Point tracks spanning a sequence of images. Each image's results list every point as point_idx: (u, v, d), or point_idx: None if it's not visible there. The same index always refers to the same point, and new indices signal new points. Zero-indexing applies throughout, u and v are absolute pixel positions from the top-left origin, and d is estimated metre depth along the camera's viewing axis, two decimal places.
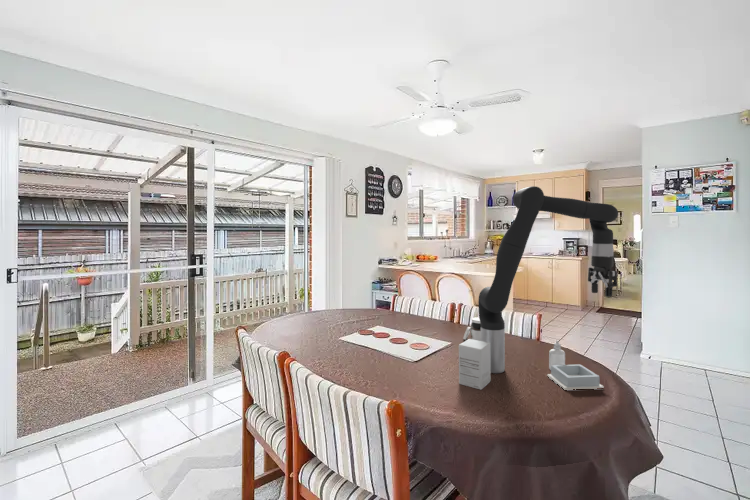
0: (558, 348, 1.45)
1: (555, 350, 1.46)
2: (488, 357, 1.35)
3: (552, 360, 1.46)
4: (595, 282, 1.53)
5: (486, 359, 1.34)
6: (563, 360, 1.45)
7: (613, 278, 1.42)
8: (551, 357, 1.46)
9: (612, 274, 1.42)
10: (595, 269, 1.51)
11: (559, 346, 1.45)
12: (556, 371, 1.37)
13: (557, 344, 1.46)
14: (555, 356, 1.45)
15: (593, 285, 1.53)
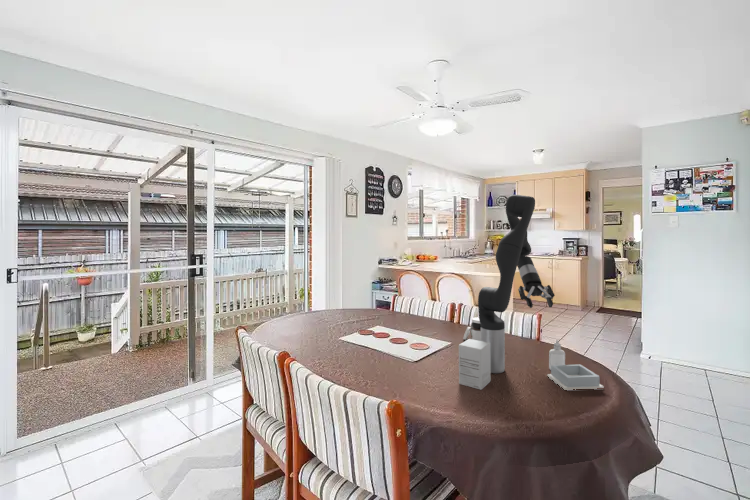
0: (558, 348, 1.45)
1: (555, 350, 1.46)
2: (488, 357, 1.35)
3: (552, 360, 1.46)
4: None
5: (486, 359, 1.34)
6: (563, 360, 1.45)
7: None
8: (551, 357, 1.46)
9: None
10: (529, 286, 1.65)
11: (559, 346, 1.45)
12: (556, 371, 1.37)
13: (557, 344, 1.46)
14: (555, 356, 1.45)
15: None
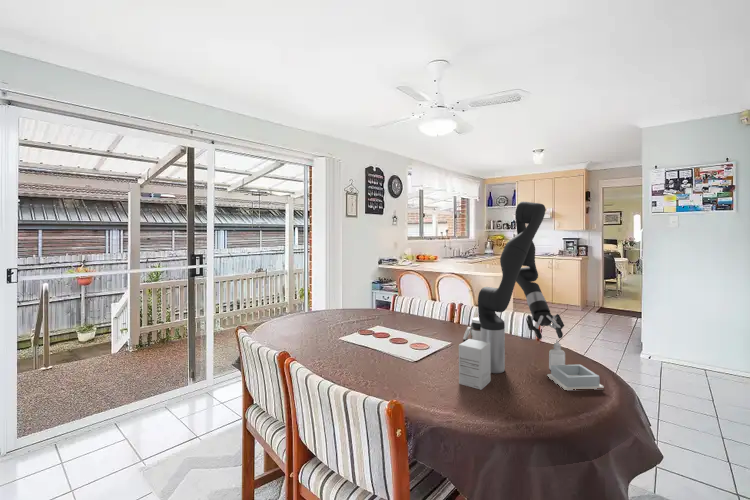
0: (558, 348, 1.45)
1: (555, 350, 1.46)
2: (488, 357, 1.35)
3: (552, 360, 1.46)
4: None
5: (486, 359, 1.34)
6: (563, 360, 1.45)
7: None
8: (551, 357, 1.46)
9: None
10: (537, 315, 1.57)
11: (559, 346, 1.45)
12: (556, 371, 1.37)
13: (557, 344, 1.46)
14: (555, 356, 1.45)
15: None
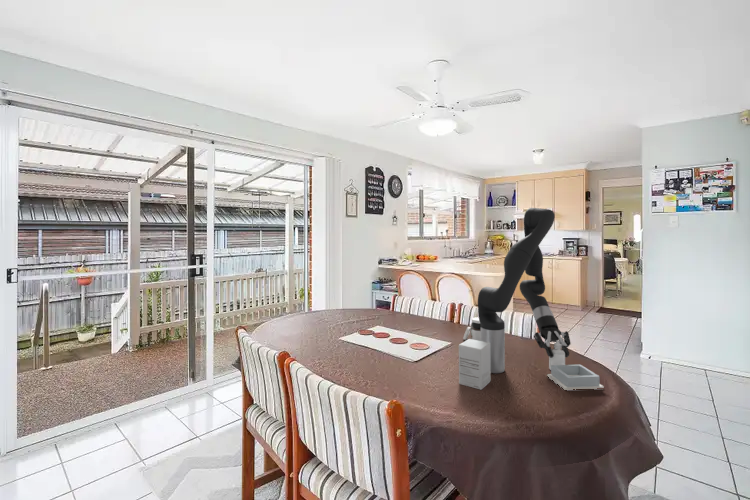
0: (559, 348, 1.45)
1: (555, 350, 1.46)
2: (488, 357, 1.35)
3: (552, 360, 1.46)
4: None
5: (486, 359, 1.34)
6: (563, 360, 1.45)
7: None
8: None
9: None
10: (544, 330, 1.51)
11: (559, 346, 1.45)
12: (556, 371, 1.37)
13: (557, 344, 1.46)
14: (555, 356, 1.45)
15: None
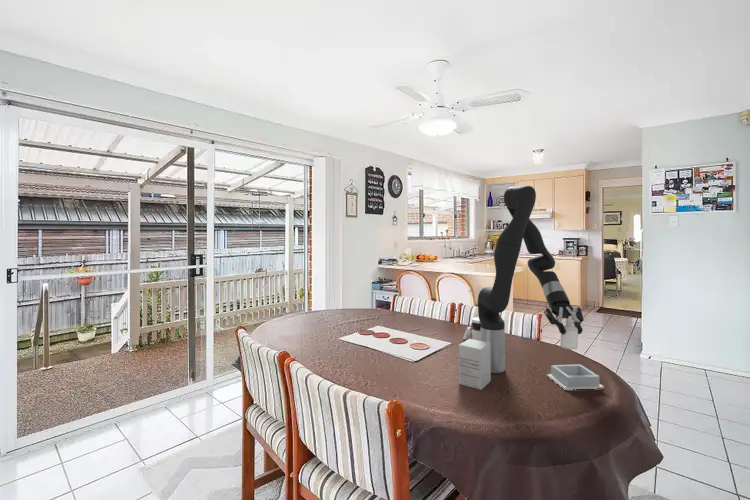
0: (571, 324, 1.36)
1: (567, 326, 1.37)
2: (488, 357, 1.35)
3: (564, 337, 1.37)
4: None
5: (486, 359, 1.34)
6: (576, 337, 1.36)
7: None
8: None
9: None
10: (555, 306, 1.42)
11: (572, 322, 1.36)
12: (556, 371, 1.37)
13: (570, 320, 1.37)
14: (568, 332, 1.36)
15: None
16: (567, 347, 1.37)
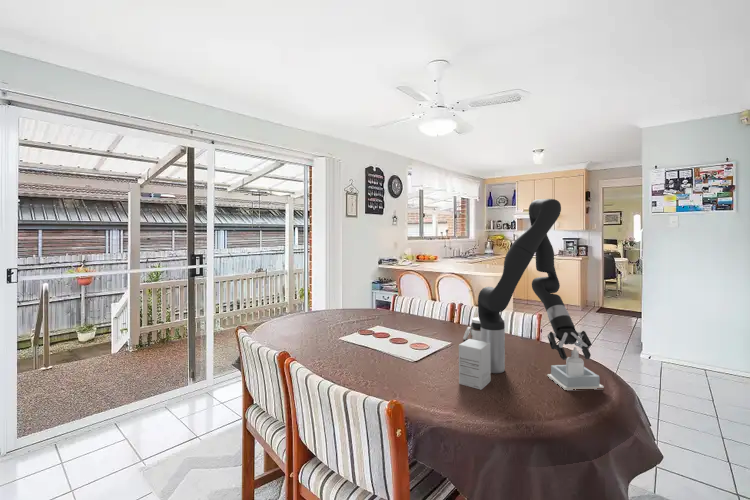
0: (577, 356, 1.34)
1: (573, 358, 1.34)
2: (488, 357, 1.35)
3: (569, 369, 1.34)
4: None
5: (486, 359, 1.34)
6: (582, 369, 1.33)
7: None
8: (568, 365, 1.34)
9: None
10: (560, 332, 1.39)
11: (577, 354, 1.34)
12: (556, 371, 1.37)
13: (575, 352, 1.34)
14: (573, 364, 1.34)
15: None
16: None
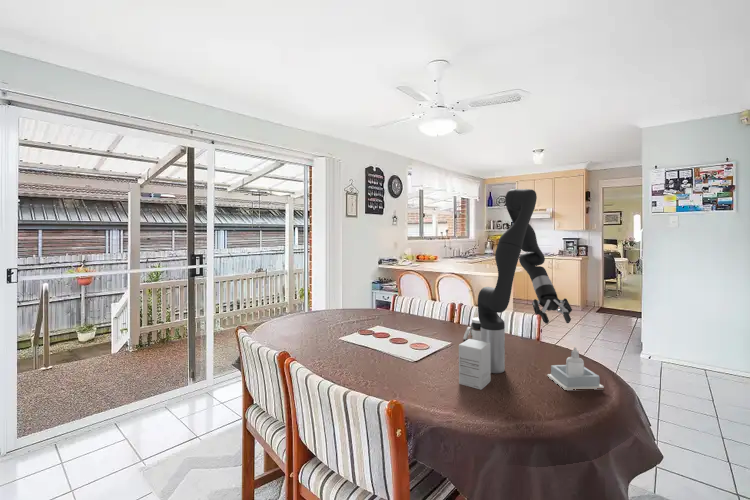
0: (577, 356, 1.34)
1: (573, 358, 1.34)
2: (488, 357, 1.35)
3: (569, 369, 1.34)
4: None
5: (486, 359, 1.34)
6: (582, 369, 1.33)
7: None
8: (568, 365, 1.34)
9: None
10: (544, 299, 1.51)
11: (577, 354, 1.34)
12: (556, 371, 1.37)
13: (575, 352, 1.34)
14: (573, 364, 1.34)
15: None
16: None
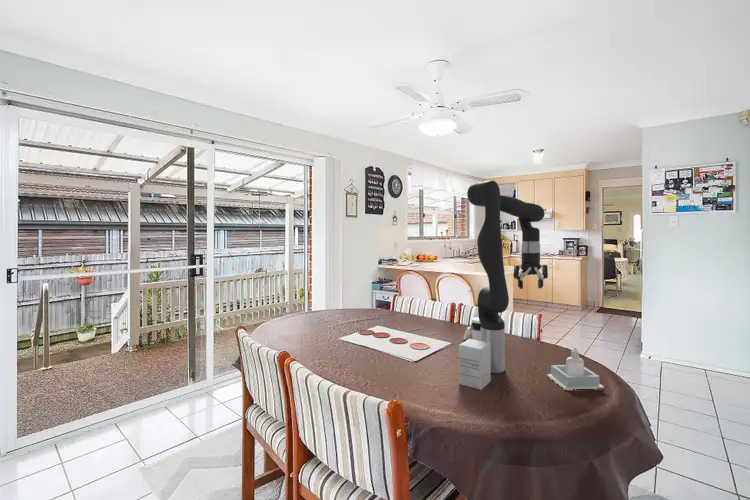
0: (577, 356, 1.34)
1: (573, 358, 1.34)
2: (488, 357, 1.35)
3: (569, 369, 1.34)
4: None
5: (486, 359, 1.34)
6: (582, 369, 1.33)
7: None
8: (568, 365, 1.34)
9: None
10: (526, 266, 1.60)
11: (577, 354, 1.34)
12: (556, 371, 1.37)
13: (575, 352, 1.34)
14: (573, 364, 1.34)
15: None
16: None
